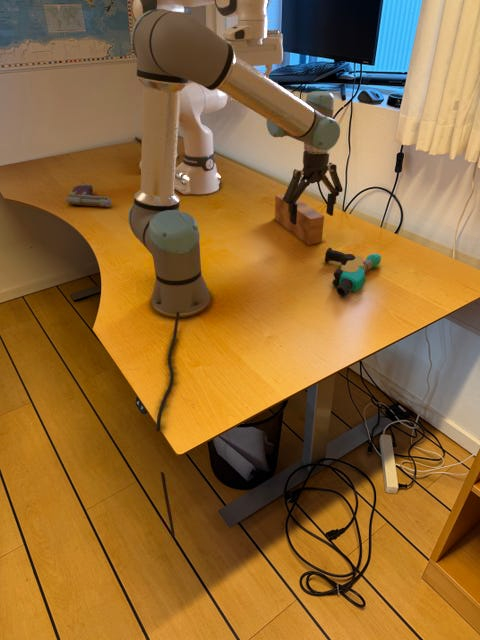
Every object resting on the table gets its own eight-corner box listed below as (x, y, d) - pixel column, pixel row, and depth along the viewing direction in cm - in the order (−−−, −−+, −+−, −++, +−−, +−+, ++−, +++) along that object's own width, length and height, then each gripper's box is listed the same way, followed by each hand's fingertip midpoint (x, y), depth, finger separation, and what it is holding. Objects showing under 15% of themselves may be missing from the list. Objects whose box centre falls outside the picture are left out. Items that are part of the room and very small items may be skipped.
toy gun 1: (124, 195, 187) (108, 210, 175) (80, 192, 190) (61, 206, 178) (122, 185, 185) (106, 200, 173) (78, 182, 188) (59, 197, 176)
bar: (321, 242, 153) (324, 216, 148) (308, 245, 151) (310, 219, 146) (286, 216, 169) (288, 192, 164) (274, 219, 167) (275, 195, 162)
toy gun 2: (303, 277, 126) (358, 291, 120) (334, 239, 144) (384, 250, 139) (302, 292, 128) (356, 306, 123) (333, 252, 147) (381, 263, 141)
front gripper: (344, 141, 145) (337, 206, 157) (272, 153, 136) (271, 222, 149) (359, 147, 139) (351, 215, 152) (285, 160, 131) (283, 231, 144)
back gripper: (277, 28, 148) (276, 77, 156) (217, 32, 141) (219, 83, 149) (287, 30, 144) (285, 80, 152) (226, 33, 137) (227, 86, 145)
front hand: (311, 218), depth 151 cm, fingers open, 13 cm apart
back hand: (252, 82), depth 151 cm, fingers open, 8 cm apart
